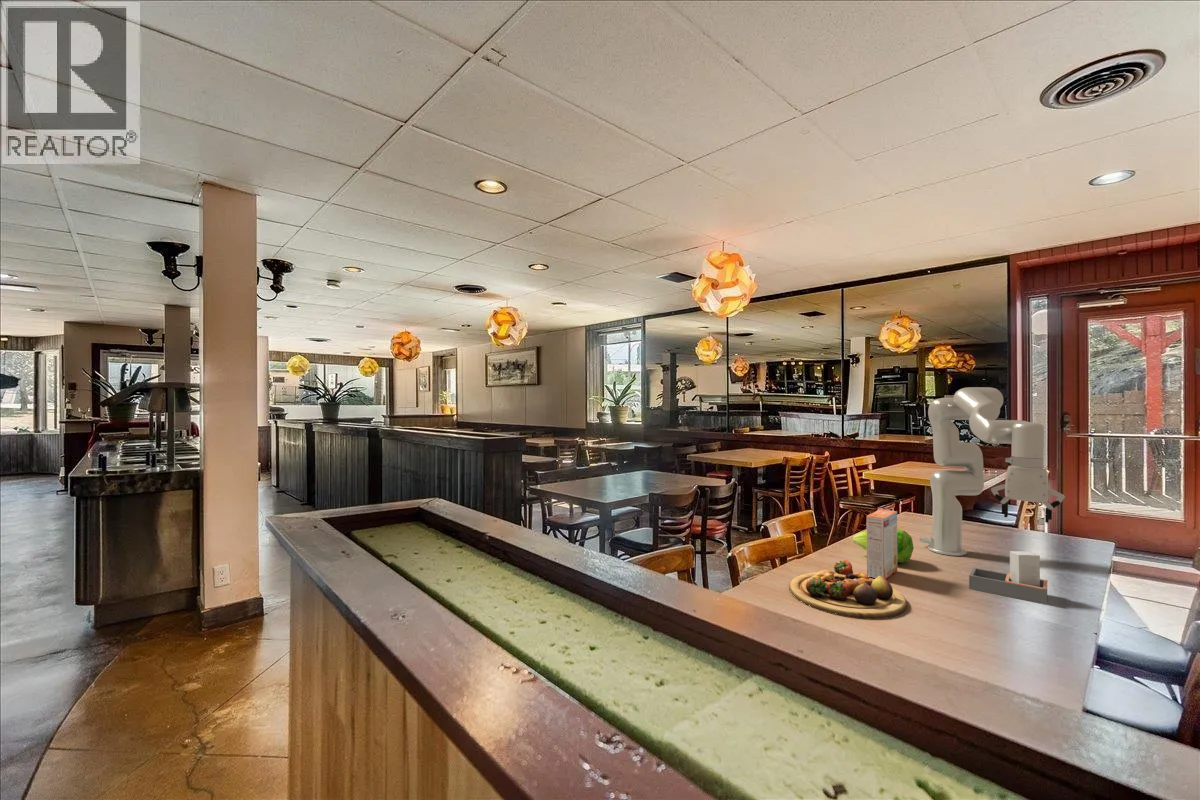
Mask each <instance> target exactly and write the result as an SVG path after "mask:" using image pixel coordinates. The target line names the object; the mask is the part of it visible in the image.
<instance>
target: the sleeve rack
mask: <svg viewBox="0 0 1200 800" xmlns="http://www.w3.org/2000/svg"><path fill="white" fill-rule="evenodd" d="M968 589H969V590H973V591H979V592H984V593H988V594H992V593H993V594H994V595H999V596H1001V597H1002V596H1004V597H1006V598H1007V597H1008V598H1012V599H1017V600H1023V601H1027V602H1031V601H1032V603H1036V602H1037V604H1041V603H1042V605H1047V604H1048V603H1047V602H1048V579H1044V578H1040V587H1036V586H1031V585H1026V584H1021V583H1015V582H1010V572H1009V573H1005V572H1001V571H994V570H989V569H984V568H983V569H982V568H979V567H973V568H972V570H971V571H970V573H969V575H968ZM993 594H992V595H993Z"/></svg>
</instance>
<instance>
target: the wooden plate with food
mask: <svg viewBox="0 0 1200 800" xmlns="http://www.w3.org/2000/svg"><path fill="white" fill-rule="evenodd" d="M833 568H834V570H829V569H822V570H819V571H817V572H816V571H815V572H808V573H803V574H800V575H798V576H795V577H794V578H792V580H791V581H790V583H789V585H788V590H789V592H790V591H791V592H790V594H791V593H792V594H793V595H794V596H795V597H796V598H797V599H799V600H800V601H802V602H804V603H805V605H806V604H807V605H806V606H808V605H810V606H812V607H811V608H813V607H814V608H813V609H815V608H816V609H815V610H818V609H819V610H818V611H821V610H823V611H822V612H824V611H827V612H826V613H828V612H831V613H830V614H832V613H836V614H840V615H839V616H841V615H845V616H844V617H846V616H849V617H848V618H853V617H855V619H865V618H871V619H870V620H872V619H873V620H874V619H876V618H880V619H886V618H885V617H888V618H892V617H891V616H893V617H895V615H896V616H897V614H898V615H901V614H902V613H903V612H904V610H906V608H907V601H906V598H905V595H904V594H903V593H902V592H900V591H899V590H898V589H897V588H895V587H893V586H892V585H891V583H890V582H889V581H888V579H887V580H886V579H885V578H883V577H881V576H878V577H877V578H875V579H873V578H869V577H868V575H867V573H864V572H856V573H854V571H853V566H852V563H851V562H850V561H848V559H842V560H839V562H835V564H834V567H833ZM792 594H791V595H792ZM793 595H792V596H793ZM794 596H793V597H794ZM795 597H794V598H795ZM796 598H795V599H796ZM797 599H796V600H797ZM799 600H798V601H799ZM800 601H799V602H800ZM802 602H801V603H802ZM804 603H803V604H804ZM810 606H809V607H810ZM901 612H902V613H901ZM836 614H835V615H836Z"/></svg>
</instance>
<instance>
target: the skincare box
mask: <svg viewBox="0 0 1200 800" xmlns="http://www.w3.org/2000/svg"><path fill="white" fill-rule="evenodd" d="M1040 562H1041V556H1040V555H1039V554H1037V553H1035V552H1032V551H1028V550H1027V551H1021V550H1020V551H1019V550H1016V551H1015V550H1014V551H1013V550H1012V551H1011V550H1010V551H1009V573H1010V582H1015V583H1021V584H1026V585H1031V586H1036V587H1040V579H1041V571H1040V570H1041V563H1040Z"/></svg>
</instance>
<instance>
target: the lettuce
mask: <svg viewBox="0 0 1200 800" xmlns="http://www.w3.org/2000/svg"><path fill="white" fill-rule="evenodd" d="M852 542H853V543H854V544H856V545H858V546H859V547H861V548H862V549H863V550H865V551H867V530H864V531H861V532H858V533H856V534H855V535H853V536H852ZM914 548H915V547H914V542H913V537H912V536H911V535H910V534H909V533H908V531H906V530H903V529H899V528H897V563H900V564H901V563H906V561H908V560H910V559H911V558H912V554H913V551H914Z"/></svg>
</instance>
